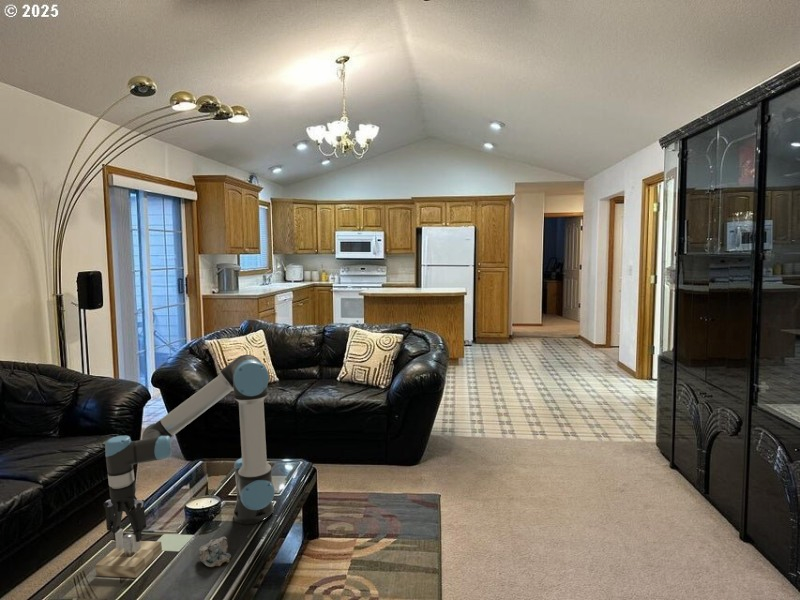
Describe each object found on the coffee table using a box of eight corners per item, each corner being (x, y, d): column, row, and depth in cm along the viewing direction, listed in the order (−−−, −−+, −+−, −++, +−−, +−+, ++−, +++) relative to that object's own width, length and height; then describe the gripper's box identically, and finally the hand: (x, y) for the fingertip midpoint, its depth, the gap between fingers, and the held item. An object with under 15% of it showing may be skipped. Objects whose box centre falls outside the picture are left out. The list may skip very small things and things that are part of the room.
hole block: (162, 552, 177) (161, 541, 176) (136, 578, 163) (134, 566, 162) (125, 550, 179) (124, 540, 178) (96, 576, 165) (95, 565, 164)
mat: (194, 536, 186) (194, 535, 186) (178, 552, 176) (178, 551, 176) (164, 534, 188) (164, 533, 188) (147, 551, 178) (147, 549, 178)
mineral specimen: (213, 581, 168) (226, 555, 177) (227, 569, 165) (239, 543, 174) (190, 565, 166) (203, 540, 175) (203, 553, 163) (216, 528, 172)
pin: (137, 561, 172) (134, 533, 171) (131, 567, 169) (128, 538, 168) (129, 561, 172) (126, 533, 171) (123, 566, 169) (120, 538, 168)
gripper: (154, 478, 170) (161, 544, 173) (104, 477, 173) (111, 542, 175) (140, 489, 163) (147, 557, 165) (88, 488, 165) (96, 555, 168)
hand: (129, 549), depth 170 cm, fingers open, 5 cm apart
